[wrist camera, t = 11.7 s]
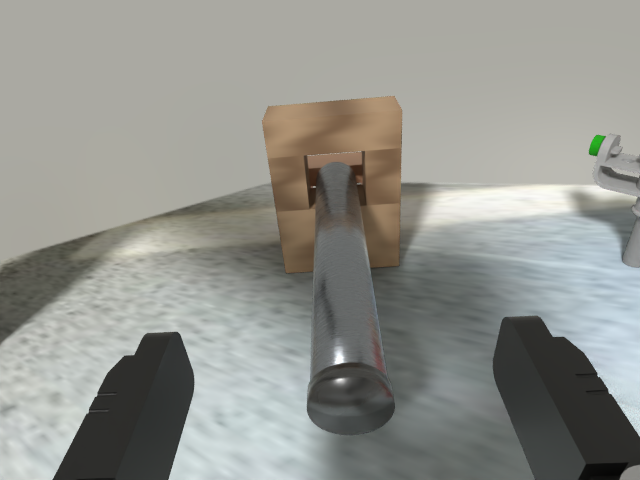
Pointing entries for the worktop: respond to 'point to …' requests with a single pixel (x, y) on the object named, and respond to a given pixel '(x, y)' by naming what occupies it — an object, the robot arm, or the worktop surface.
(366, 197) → the bearing block
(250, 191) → the worktop surface
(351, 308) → the shaft
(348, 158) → the orange block with hole
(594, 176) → the mechanical component
